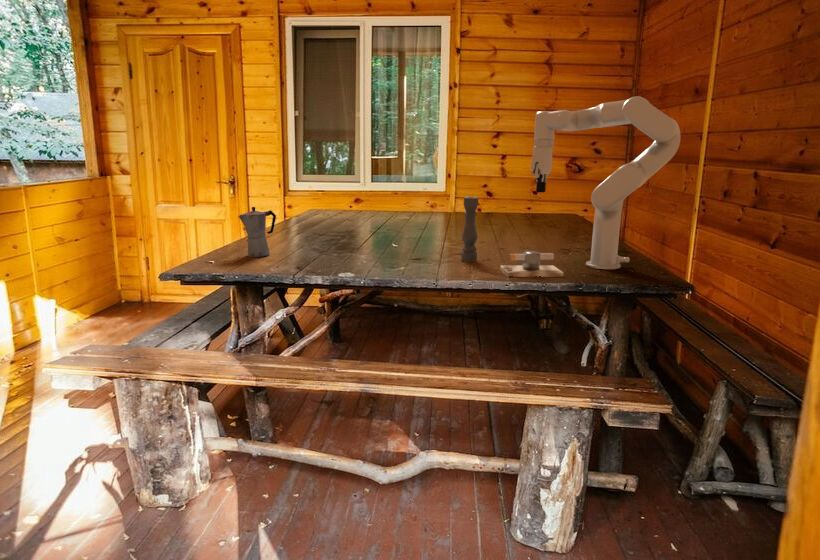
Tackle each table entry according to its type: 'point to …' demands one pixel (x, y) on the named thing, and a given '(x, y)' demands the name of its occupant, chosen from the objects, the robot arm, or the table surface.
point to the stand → (531, 271)
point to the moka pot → (257, 231)
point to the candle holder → (469, 230)
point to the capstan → (531, 259)
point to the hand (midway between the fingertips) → (540, 192)
